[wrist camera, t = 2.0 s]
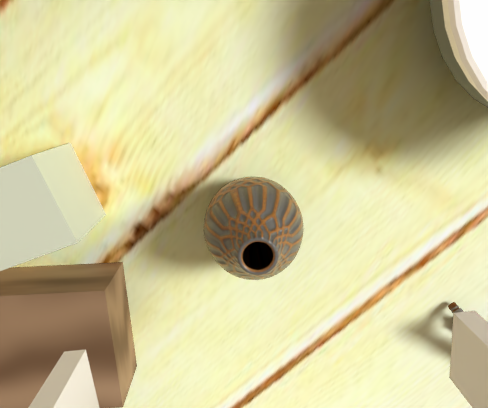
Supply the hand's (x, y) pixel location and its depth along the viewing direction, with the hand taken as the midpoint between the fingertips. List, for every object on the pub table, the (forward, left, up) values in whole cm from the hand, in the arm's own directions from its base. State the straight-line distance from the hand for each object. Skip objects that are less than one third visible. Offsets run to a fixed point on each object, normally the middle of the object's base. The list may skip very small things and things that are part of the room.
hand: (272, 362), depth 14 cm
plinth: (+8, -16, -18) cm, 25 cm away
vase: (0, 0, -18) cm, 18 cm away
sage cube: (-3, -15, -18) cm, 24 cm away
